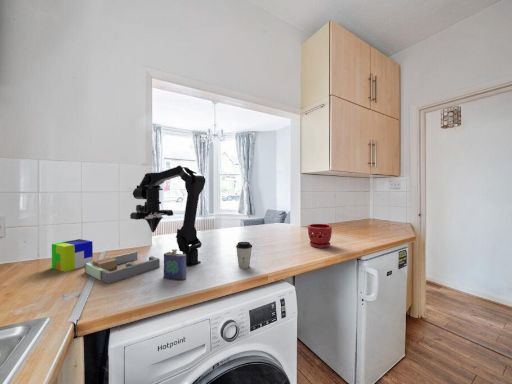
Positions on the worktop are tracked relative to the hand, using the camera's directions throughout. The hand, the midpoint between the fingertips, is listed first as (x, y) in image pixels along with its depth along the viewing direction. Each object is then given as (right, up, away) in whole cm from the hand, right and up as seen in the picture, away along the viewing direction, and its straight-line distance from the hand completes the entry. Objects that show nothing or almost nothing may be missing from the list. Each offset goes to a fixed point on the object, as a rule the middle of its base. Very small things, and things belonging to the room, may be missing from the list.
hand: (153, 232), depth 106 cm
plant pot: (+86, -12, +21) cm, 89 cm away
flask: (+19, -13, -25) cm, 34 cm away
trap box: (-4, -12, -16) cm, 21 cm away
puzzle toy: (-29, -13, -12) cm, 33 cm away
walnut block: (-10, -13, -20) cm, 25 cm away
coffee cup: (+44, -13, -13) cm, 48 cm away
